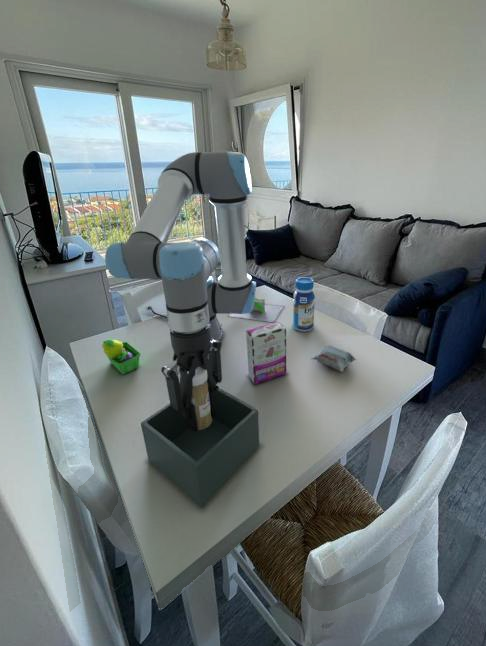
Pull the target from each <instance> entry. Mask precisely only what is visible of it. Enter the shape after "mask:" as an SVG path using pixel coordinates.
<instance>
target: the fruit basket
mask: <svg viewBox="0 0 486 646" xmlns="http://www.w3.org/2000/svg"><path fill="white" fill-rule="evenodd" d="M102 349H103V353H104V354H105V356H107V359H108V361H109V362H110V363H111V365H113V366H114V368H116V369H117V371H118V372H120V374H122V375H125V374H126V373H129V372H131V371H133V370H135V369H137V368H139V364H140V357H141V352H139V351H138V349H136V348H134V346H132V345H131V344H130V343H129V342H127V341H123V342H122V341H120V340H116V339H112V338H107V339H106V340H103V341H102Z"/></svg>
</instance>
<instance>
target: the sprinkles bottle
mask: <svg viewBox="0 0 486 646" xmlns="http://www.w3.org/2000/svg"><path fill="white" fill-rule="evenodd" d="M207 378H208V376H207V370H205V369H203V368H201V367H198V368H197V369H196V371H195V376H194V377H193V379H192V382H193V386H192V398H191V403H192V404H193V405H195V413H196V421H197V429H198V430H203V429H205V428H207V427H209V426H210V424H211V422H212V418H211V412H210V400H209V392H208V385H207Z"/></svg>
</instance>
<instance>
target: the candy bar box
mask: <svg viewBox="0 0 486 646" xmlns="http://www.w3.org/2000/svg"><path fill="white" fill-rule="evenodd" d="M245 336H246V338H245V339H246V351H247V354H246V355H247V369H248V377H249V379H250V380H251V381H252V383H253V384H254V385H259V384H261V383H265V382H267V381H269V380H273V379H275V378H278V377H281V376H284V375H287V328H286V327H285V326H284V325H283V324H282V323H281V322H279V321H277V322H272V323H269V324H265V325H261V326H257V327H254V328H251V329H247V330H245Z"/></svg>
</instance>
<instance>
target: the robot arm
mask: <svg viewBox="0 0 486 646" xmlns="http://www.w3.org/2000/svg"><path fill="white" fill-rule="evenodd" d="M157 186H158V187H157V188H156V190H155V192H154V193H153V195H152V197H151V199H150V201H149V202H148V204H147V205H146V208H145V209H144V211H143V213H142V215H141V216H140V218H139V220H138V221H137V223H136V225H135V227H134V228H133V230H132V232H131V233H130V236H129V237H128V239H127V240H126V242H124V241H119V242H113V243H112V244H109V246H107V248H106V250H105V254H104V262H105V263H104V264H105V267H106V269H107V270H108V273H109V274H110V276H112V277H114V278H116V279H126V280H127V279H128V280H152V279H153V280H154V279H155V280H156V279H158V280H159V279H160V280H161V282H162V288H163V295H164V301H165V309H166V315H163V314H161V313H158V312H155V311H154V309H153V308H152V306H151V305H150V306H148V307H147V309H148V310H149V309H150V311H151V312H152V313H153V314H154V315H156V316H159V317H162V318H165V319H167V326H168V328H169V336H170V337H169V338H170V341H171V342H170V343H171V347H172V350H173V357H172V362H171V363H170V364H169V365H168V366H166V365H164V366H162V367H161V370H160V371H161V373H162V374H163V375H164V377H165V382H166V388H167V393H168V400H169V403H170V405H171V407H173V408H174V409H176V410H177V411H179V412H181V414H182V417H183V418H184V419H185V420H186V426H187V427H188V428H190V429H191V430H192V431H194V432H196V431H197V430H198V429H197V421H196V413H195V405H193V404H192V403H191V398H192V386H193V382H192V379H193V377H194V376H195V371H196V369H197V368H198V367H201V368H203V369H205V370H207V376H208V378H207V385H208V392H209V400H210V412H211V416H212V417H214V416H215V405H214V400H215V399H216V394H215V391H217V390H218V389H219V388H220V387H219V386H218V384H220V383H222V381H223V373H222V372H223V371H222V357H221V350H222V345H223V342H221V339H222V338H223V337H224V336H223V335H224V333H223V328H222V327H223V323H221V324H220V321H219V319H218V317H217V314H220V315H221V314H226V315H227V314H229V315H231V314H249V313H251V312H252V311H253V307H254V300H255V298H256V292H257V291H256V290H257V282H256V281H254V280H253V279H252V276H251V274H249V272H248V271H247V254H246V253H247V252H246V239H245V237H246V236H245V220H244V204H246V202H247V201H248V196H249V195H251V194H252V192H253V187H252V186H253V185H252V176H251V170H250V165H249V161H248V158H247V156H246V155H245V154H244V153H242V152H239V151H237V152H236V151H208V152H206V151H205V152H202V151H201V152H200V151H196V152H195V151H194V152H189V153H186V154H183V155H181V156H179V157H177V158H176V159H174V160H173V161H171V162H170V163H169V164H168V165H167V166H166V167H164V169H163V170H162V172H161V173H160V175H159V176H158V179H157ZM194 195H207V196H208V202H209V203H210V204H211V205H212V206H214V212H215V213H214V214H215V223H216V230H217V231H216V232H217V239H218V241H217V242H218V247H217V245H216V244H215V243H214V242H213V241H212V240H209V239H208V238H203V237H201V238H197V239H193V240H191V241H180V242H168V241H169V239H170V237H171V234H172V232H173V230H174V228H175V225H176V223H177V220H178V218H179V217H180V213H181V211H182V208H183V207H184V204H185V203H186V202H187V201H188V200H190V199H191V197H192V196H194ZM219 262H220V269H221V270H220V271H221V274H220V275H219V276H218V278H217V281H216V280H215V279H214V277H213V276H212V274H214V272H215V270H216V269H217V267H218V265H219ZM178 375H179V376H178Z"/></svg>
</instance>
